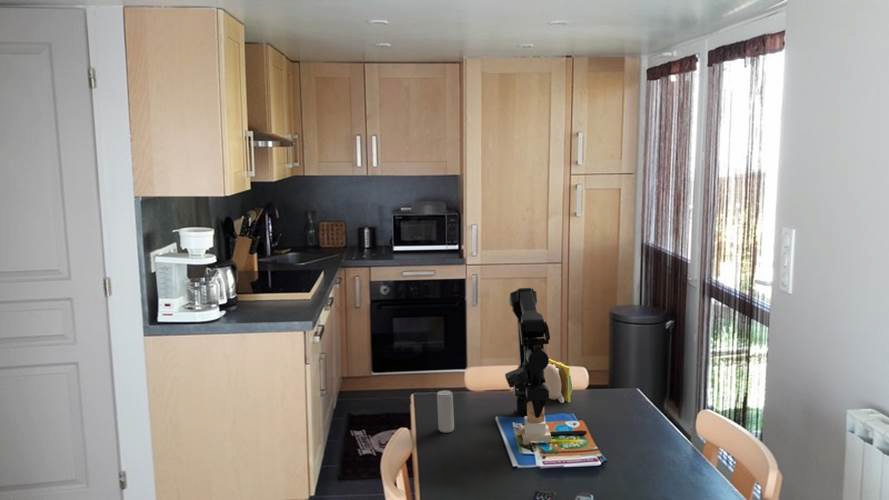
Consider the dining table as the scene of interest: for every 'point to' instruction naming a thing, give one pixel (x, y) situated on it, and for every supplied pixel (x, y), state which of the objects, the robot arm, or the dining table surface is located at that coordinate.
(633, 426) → the dining table surface
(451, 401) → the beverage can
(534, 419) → the tan cylinder
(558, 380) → the hamburger
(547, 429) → the birch slab
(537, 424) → the white block
